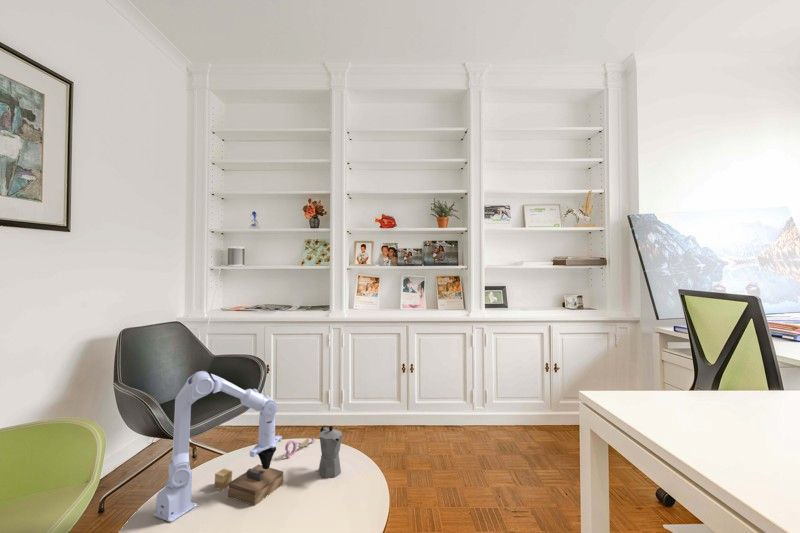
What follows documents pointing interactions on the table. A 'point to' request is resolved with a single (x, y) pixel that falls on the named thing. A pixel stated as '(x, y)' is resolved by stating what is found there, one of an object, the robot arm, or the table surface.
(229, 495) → the brown shallow open box
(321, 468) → the coffeepot
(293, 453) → the decorative key
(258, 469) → the lid
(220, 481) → the wooden block
